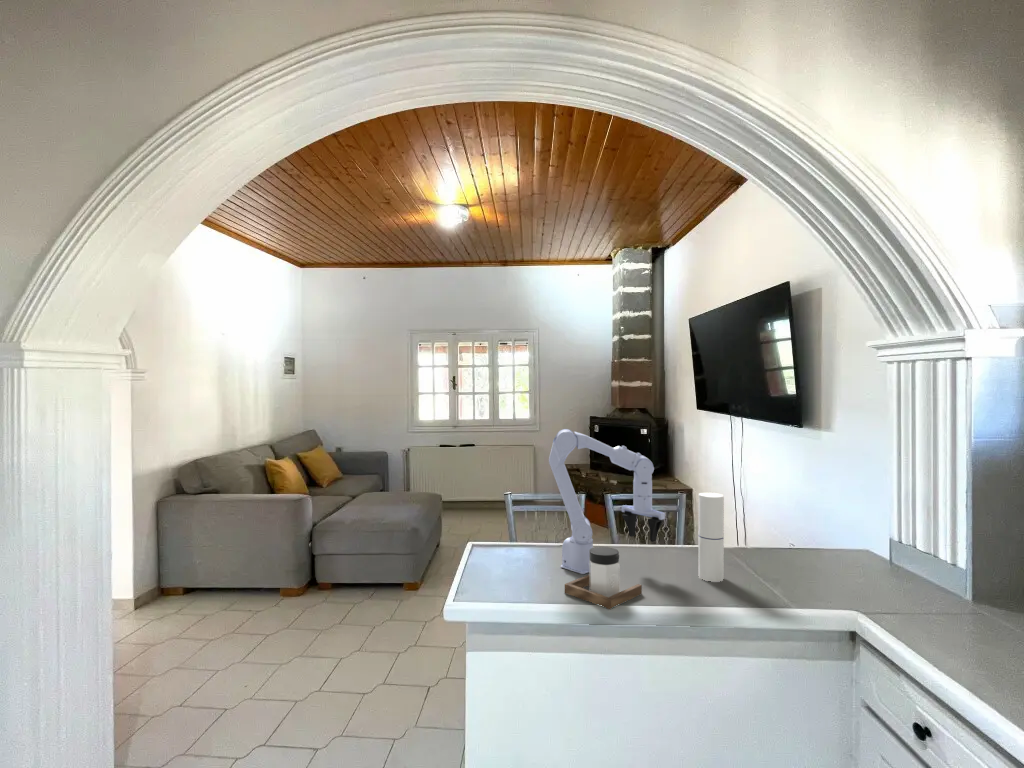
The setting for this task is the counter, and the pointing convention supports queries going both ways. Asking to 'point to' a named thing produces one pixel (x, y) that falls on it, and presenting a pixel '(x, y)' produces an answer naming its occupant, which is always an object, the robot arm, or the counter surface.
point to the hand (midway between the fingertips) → (642, 538)
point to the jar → (604, 571)
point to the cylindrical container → (711, 537)
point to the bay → (578, 591)
